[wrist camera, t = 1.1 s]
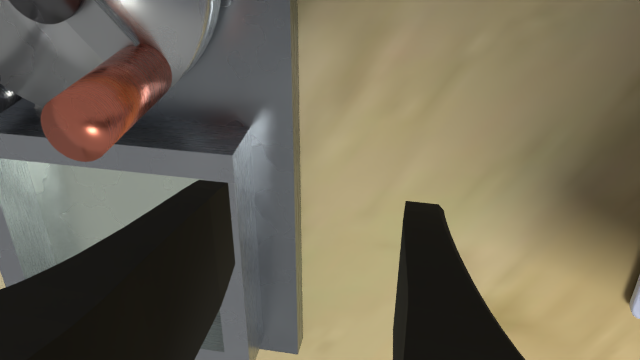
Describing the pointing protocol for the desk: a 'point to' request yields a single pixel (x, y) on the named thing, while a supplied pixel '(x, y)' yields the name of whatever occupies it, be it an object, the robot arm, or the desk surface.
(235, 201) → the crank bench
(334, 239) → the desk surface
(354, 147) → the desk surface
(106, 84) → the crank
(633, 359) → the desk surface
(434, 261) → the robot arm
